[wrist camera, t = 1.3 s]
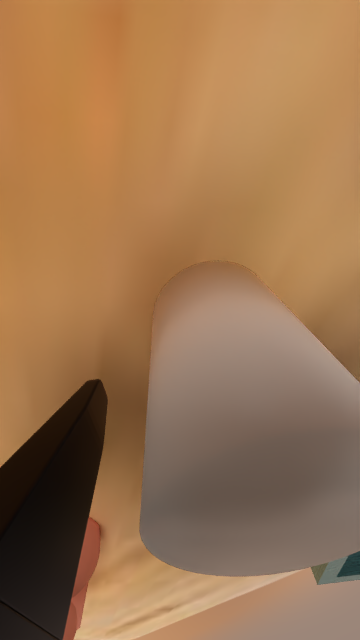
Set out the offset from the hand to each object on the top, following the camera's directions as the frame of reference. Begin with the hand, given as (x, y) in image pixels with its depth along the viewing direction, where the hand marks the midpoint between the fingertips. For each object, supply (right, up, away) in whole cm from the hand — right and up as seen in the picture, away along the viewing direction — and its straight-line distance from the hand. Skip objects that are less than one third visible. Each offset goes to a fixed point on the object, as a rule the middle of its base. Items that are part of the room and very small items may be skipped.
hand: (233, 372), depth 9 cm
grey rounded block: (0, +2, +3) cm, 4 cm away
